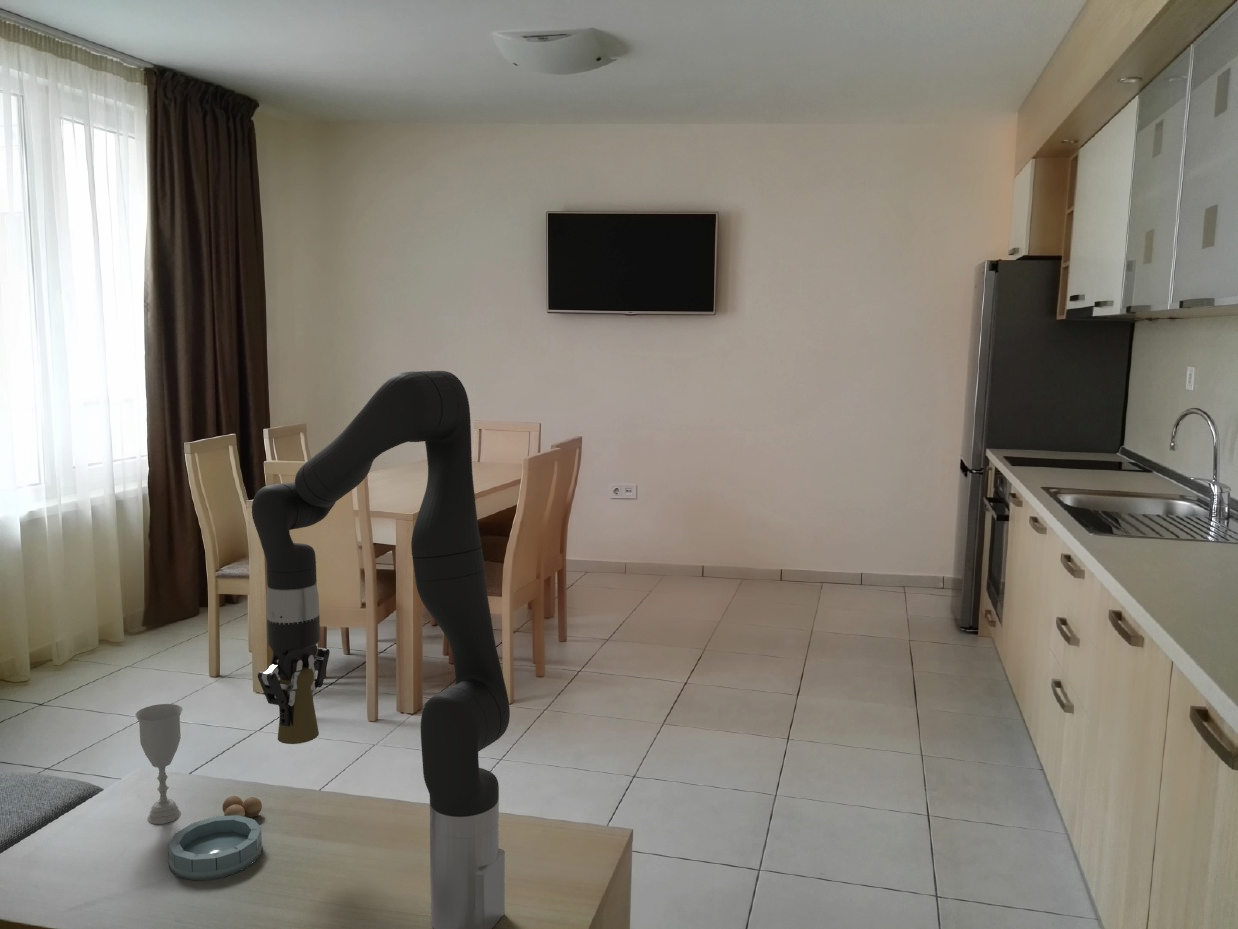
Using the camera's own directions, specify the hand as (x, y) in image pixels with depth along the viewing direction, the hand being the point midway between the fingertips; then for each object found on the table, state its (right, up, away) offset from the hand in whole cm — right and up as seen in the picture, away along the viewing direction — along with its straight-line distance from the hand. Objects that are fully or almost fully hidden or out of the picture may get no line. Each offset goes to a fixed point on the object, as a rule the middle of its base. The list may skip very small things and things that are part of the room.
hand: (297, 722), depth 143 cm
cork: (0, -2, 0) cm, 2 cm away
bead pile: (-13, -19, +11) cm, 26 cm away
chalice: (-26, -19, +11) cm, 34 cm away
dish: (-12, -20, 0) cm, 24 cm away
